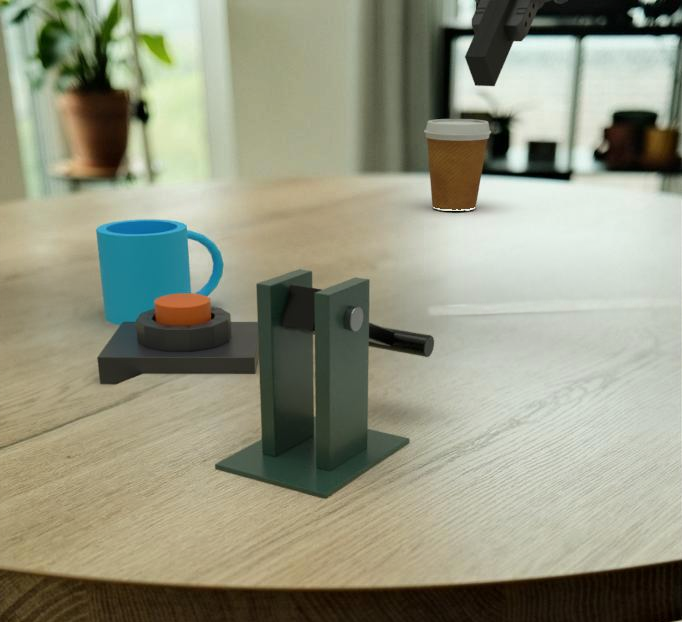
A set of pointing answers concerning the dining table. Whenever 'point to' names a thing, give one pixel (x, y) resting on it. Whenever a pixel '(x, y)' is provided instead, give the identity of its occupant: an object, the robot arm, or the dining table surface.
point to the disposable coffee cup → (456, 161)
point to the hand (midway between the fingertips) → (479, 71)
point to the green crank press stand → (298, 393)
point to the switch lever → (303, 319)
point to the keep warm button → (182, 309)
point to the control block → (179, 348)
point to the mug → (147, 265)
